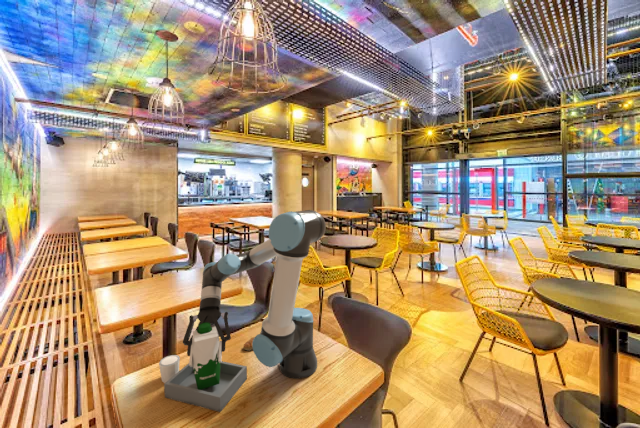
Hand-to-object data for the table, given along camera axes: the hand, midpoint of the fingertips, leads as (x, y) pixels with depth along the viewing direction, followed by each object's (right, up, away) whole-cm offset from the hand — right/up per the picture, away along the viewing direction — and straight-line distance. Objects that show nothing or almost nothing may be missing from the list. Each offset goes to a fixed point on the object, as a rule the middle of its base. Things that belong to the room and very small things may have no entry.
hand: (205, 363), depth 94 cm
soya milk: (-1, -9, +4) cm, 10 cm away
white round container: (-17, -11, +9) cm, 22 cm away
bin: (-1, -11, +4) cm, 12 cm away
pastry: (+10, -9, +31) cm, 33 cm away
